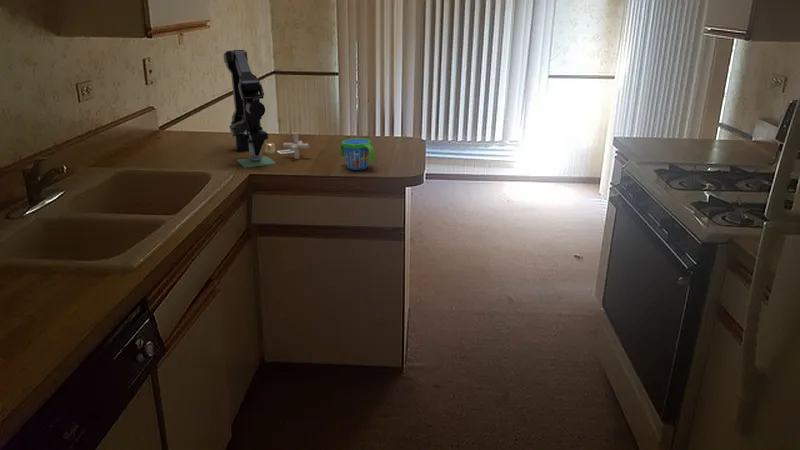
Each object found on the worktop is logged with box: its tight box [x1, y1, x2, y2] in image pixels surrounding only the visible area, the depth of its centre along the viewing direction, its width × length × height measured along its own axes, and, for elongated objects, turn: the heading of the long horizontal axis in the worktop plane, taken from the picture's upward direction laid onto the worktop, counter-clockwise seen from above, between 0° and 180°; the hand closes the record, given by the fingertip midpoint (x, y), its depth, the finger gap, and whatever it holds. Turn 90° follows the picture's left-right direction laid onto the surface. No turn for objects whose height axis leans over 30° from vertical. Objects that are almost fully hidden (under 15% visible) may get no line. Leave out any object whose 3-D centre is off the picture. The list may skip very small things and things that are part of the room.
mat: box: [236, 156, 277, 169], centre depth 238 cm, size 12×12×1 cm
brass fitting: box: [264, 142, 276, 156], centre depth 251 cm, size 4×4×4 cm
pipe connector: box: [283, 132, 310, 160], centre depth 242 cm, size 10×10×10 cm
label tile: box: [276, 149, 294, 155], centre depth 254 cm, size 5×8×1 cm, turn 117°
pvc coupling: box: [248, 142, 263, 161], centre depth 237 cm, size 5×5×6 cm
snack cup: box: [339, 137, 376, 171], centre depth 228 cm, size 16×10×10 cm
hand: (255, 154), depth 237 cm, fingers closed on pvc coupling, 4 cm apart
